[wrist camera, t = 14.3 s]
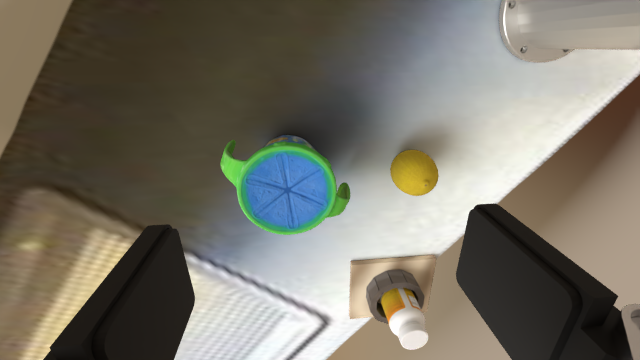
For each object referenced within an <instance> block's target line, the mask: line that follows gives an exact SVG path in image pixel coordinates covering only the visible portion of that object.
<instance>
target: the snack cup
mask: <svg viewBox="0 0 640 360" xmlns="http://www.w3.org/2000/svg"><path fill="white" fill-rule="evenodd" d="M234 147H235V141H234V140H232V141H230V142H229V143H228V144H227V146H226V147H225V150H224V153H223V156H222V159H221V168H222V171H223V173H224V174H225V176H226V177H227V178H228V179H229V180H230V181H231V182H232V183H233V184H234V185H235V186H236V188H237V195H238V200H239V204H240V206H241V208H242V210H243V212H244V213H245V215H246V216H247V217H248V219H249V220H251V221H252V222H253V223H254V224H255V225H257V226H258V227H260V228H262V229H264V230H266V231H269V232H272V233H276V234H284V235H290V234H298V233H302V232H305V231H308V230H311V229H312V228H314V227H316V226H317V225H319V224H320V223H321V222H322V221H323V220H324V219H325V218H327V217H333V216H337V215H339V214H341V213H342V212H343V211H344V209H345V207H346V205H347V203H348V202H349V199H350V189H349V186H348V184H347V183H342V184H341V185H340V187H339V189H338V191H337V187H336V180H335V176H334V173H333V171H332V169H331V164H330V162H329V161H328V160H327V159H326V158H325V157H323V156H322V155H320V154H319V153H318V152H317V151H316V150H315V149H314V148H313V146H312V145H311V144H310V143H309V142H307V141H306V140H304V139H303V138H301V137H298V136H292V135H282V136H280V137H276V138H274V139H272V140H271V141H269V142H268V143H267V144H266V145H265V146H264V147H263V148H262V149H260V150H259V151H257V152H256V153H255V154H253V155H252V156H251V157H250V158H249V159H248V160H245V161H243V160H237V159H234V157H233V156H232V153H233V150H234Z"/></svg>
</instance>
